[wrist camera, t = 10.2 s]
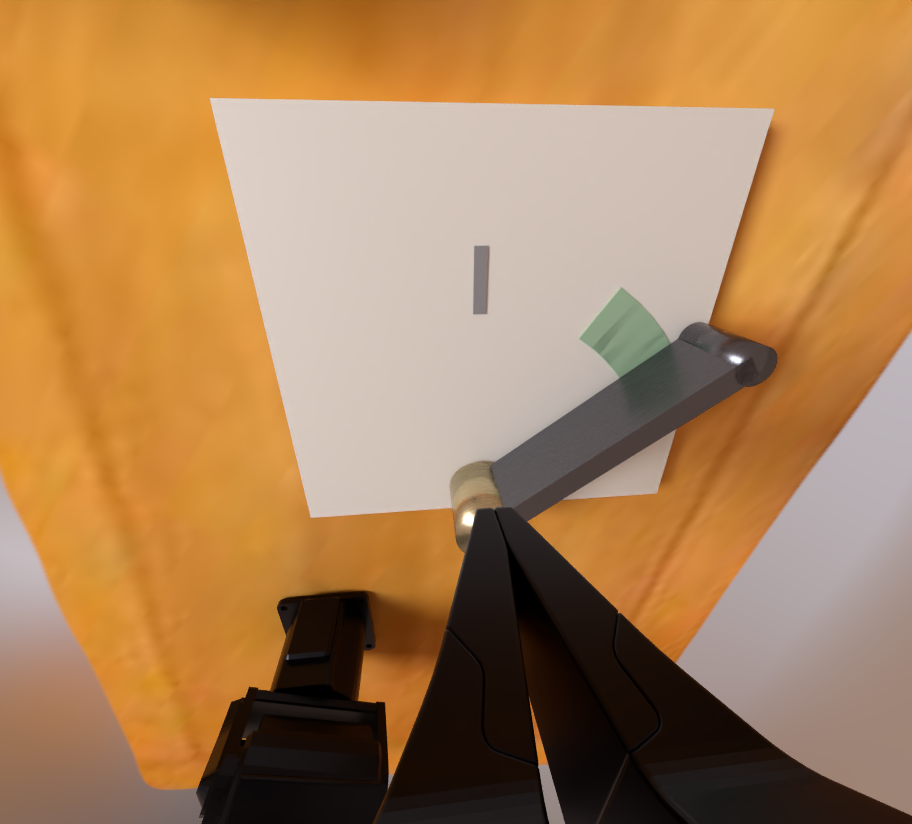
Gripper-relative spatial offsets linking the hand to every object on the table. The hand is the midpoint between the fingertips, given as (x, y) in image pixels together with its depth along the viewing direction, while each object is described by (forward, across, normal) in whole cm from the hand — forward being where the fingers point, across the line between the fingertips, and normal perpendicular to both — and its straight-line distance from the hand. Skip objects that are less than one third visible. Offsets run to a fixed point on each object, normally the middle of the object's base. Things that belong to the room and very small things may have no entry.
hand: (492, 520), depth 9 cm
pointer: (+11, -7, +4) cm, 13 cm away
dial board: (+13, -2, 0) cm, 13 cm away
